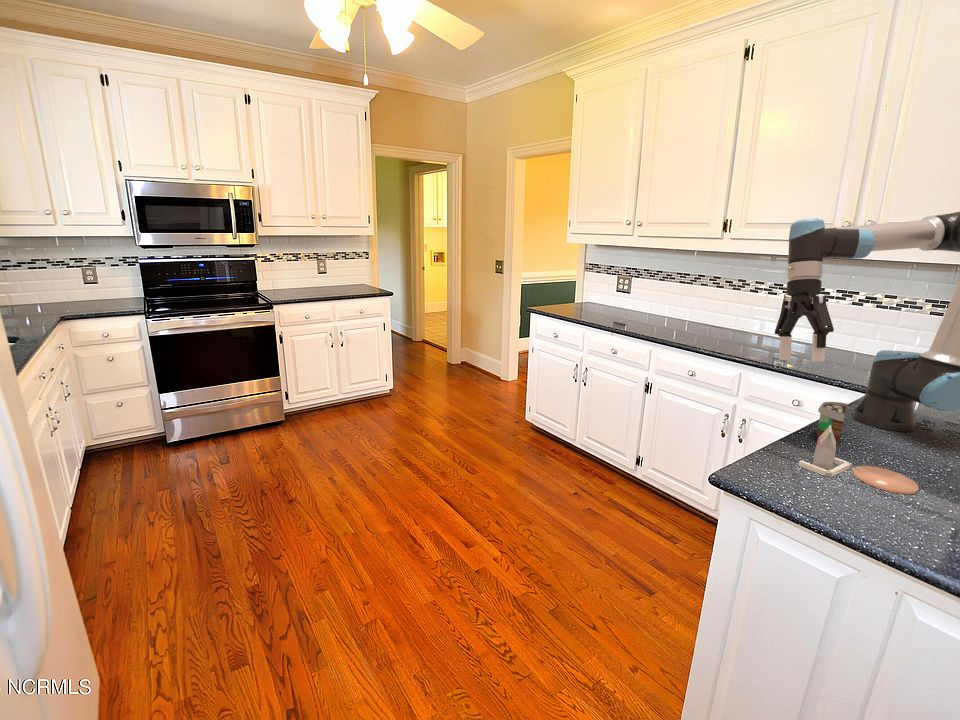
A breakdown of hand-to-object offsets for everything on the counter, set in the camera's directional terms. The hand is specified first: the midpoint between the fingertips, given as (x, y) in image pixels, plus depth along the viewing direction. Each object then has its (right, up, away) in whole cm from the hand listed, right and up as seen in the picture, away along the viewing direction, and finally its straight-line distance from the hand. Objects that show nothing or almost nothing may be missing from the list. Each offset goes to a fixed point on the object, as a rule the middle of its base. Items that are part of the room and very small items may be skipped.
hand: (800, 360), depth 126 cm
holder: (+1, -26, -6) cm, 27 cm away
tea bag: (+1, -27, -6) cm, 27 cm away
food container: (+14, -23, +11) cm, 29 cm away
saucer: (+11, -28, -13) cm, 33 cm away
